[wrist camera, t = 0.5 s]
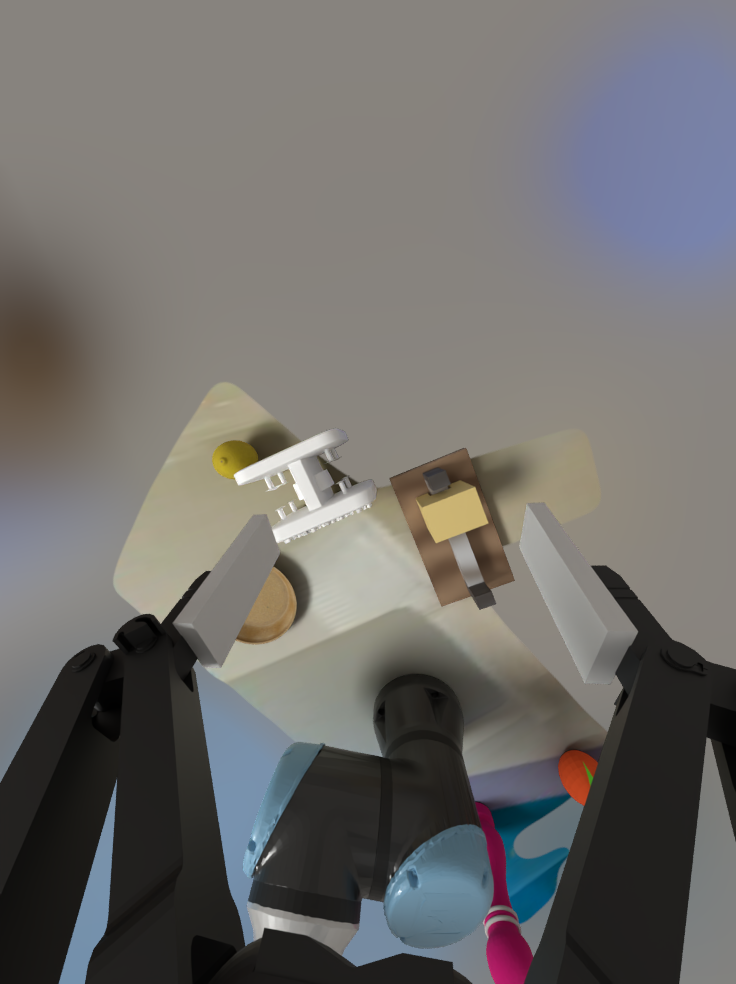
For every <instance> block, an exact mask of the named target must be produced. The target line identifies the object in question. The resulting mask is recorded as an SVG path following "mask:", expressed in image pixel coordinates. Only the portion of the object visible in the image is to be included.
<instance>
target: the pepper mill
mask: <svg viewBox="0 0 736 984" xmlns="http://www.w3.org/2000/svg"><path fill="white" fill-rule="evenodd" d="M475 804H476V808H477V812H478V815H479V819H480V823H481V827H482V830H483V832H484V834H485V837H486V841H487V851H488V856H489V861H490V866H491V870H492V875H493V882H494V893H493V900H492V904H491V907H490V910H489V912H488V914H487V916H486V918H485V919H484V920H483V924H484V926H485V934H486V936H487V937H488V942H487V948H486V955H487V961H488V965H489V969H490V972H491V975H492V977H493V980H494V982H495V984H524V981H525V979H526V976H527V973H528V970H529V967H530V965H531V962H532V960H533V955H532V952H531V950H530V947H529V945H528V943H527V942H526V941H525V939H524V938H523V937H522V936H521V927H520V925H519V923H518V917H517V914H516V913H515V912H514V910H512V907H511V904H510V901H509V896H508V892H507V885H506V857H505V849H504V845H503V841H502V839H501V837H500V835H499V833H498V832H497V831H496V830H495V829H494V821H493V818H492V815H491V812H490V810H489V809H488V807H486V806H485V805H484V804H482V803H478V802H475Z"/></svg>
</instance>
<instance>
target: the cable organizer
mask: <svg viewBox="0 0 736 984" xmlns="http://www.w3.org/2000/svg"><path fill="white" fill-rule="evenodd" d="M347 441H348V438H347V435H346V433H345V431H343V430H340V429H337V428H334V429H330V430H327V431H324V432H322V433H319V434H317V435H315V436H313V437H311V438H308V439H306V440H304V441H302V442H300V443H298V444H295V445H293V446H291V447H289V448H287V449H285V450H282V451H280V452H278V453H276V454H274V455H272V456H269V457H267V458H265V459H263V460H261V461H259V462H256V463H254V464H252V465H250V466H248V467H246V468H243V469H242V470H240V471H238V472H237V473H235V474H234V477H235V479H236V481H237V483H238V485H244V484H248V483H251V482H255V481H258V480H262V479H265V481H266V483H267V485H268V487H269V490H267V491H271V490H276V489H277V488H278V487H280V486H281V485H285V484H286V483H288V482H287V481H286V479H285V477H284V475H283V473H282V472H283V471H285V470H288V469H290V471H291V474H292V476H293V478H294V480H295V482H296V484H294V485H293V487H294V489H295V491H296V493H297V495H298V497H299V499H300V500H302V499H304V501H305V503H306V505H307V506H305V507H303V508H300V509H298V510H297V508H296V506H295V504H294V502H293V501H295V500H296V499H294V500H291V501H290V502H288V503H289V504H290V506H291V508H292V510H293V512H292V513H290V514H288V515H287V516H286V515H285V513H284V511H283V509H282V508H284V507H285V506H283V507H280V508H278V509H277V510H275V511H278V513H279V515H280V517H281V520H280V521H279V522H277V523H276V524H275V525H273V526H272V527H271V528H272V531H273V534H274V536H275V539H276V542H277V543H279V542H282V541H284V542H285V544H286V543H289V542H291V541H290V540H291V539H293V540H294V539H296V538H297V537H301V536H304V535H307V534H308V533H310V532H314V531H316V530H317V527H318V529H319V528H321V525H322V526H323V527H325V526H326V525H329V524H331V522H332V523H334V522H336V520H337V521H339V520H340V519H344V516H345V517H348V516H349V515H353V514H354V513H353V511H355V510H356V511H357V513H359V512H361V511H362V509H361V508H363V510H364V509H366V505H367V508H369V507H371V506H372V503H371V502H373V501H374V500H375V499H376V492H377V488H376V486H375V484H374V481H373V480H372V479H370V480H366V481H363V482H360V483H358V484H356V485H353V486H352V485H351V483H350V481H349V479H348V477H349V476H346V477H344V478H342V479H341V480H342V481H339V482H338V483H336V484H339V486H340V488H341V490H342V491H339V492H337V493H335V494H334V493H333V491H332V489H331V486H332V485H333V484H334V481H333V480H332V478H331V476H330V474H329V472H328V470H327V469H326V470H324V471H323V469H322V467H321V465H320V463H319V460H318V458H317V456H318V455H321V454H323V453H325V455H326V457H327V459H328V461H329V462H332V461H334V460H337V459H339V457H338V455H337V453H336V450H335V448H336V447H338V446H340V445H342V444H344V443H345V442H347ZM329 450H331V452H332V455H333V457H334V459H333V457H332V455H331V453H330V451H329ZM329 462H327V463H329ZM324 464H325V463H324ZM276 474H278V476H279V478H280V480H281V482H282V484H281V485H278V486H276V487H274V485H273V483H272V481H271V479H270V477H271V476H274V475H276ZM343 479H344V480H343ZM343 481H345V483H346V486H347V488H346V486H345V484H344V482H343ZM286 506H287V505H286Z"/></svg>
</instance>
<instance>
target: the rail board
mask: <svg viewBox="0 0 736 984" xmlns="http://www.w3.org/2000/svg"><path fill="white" fill-rule="evenodd" d="M459 480H461V481H463V482H465V483H467V484H470V485H472V486H474V487H475V488H476V491H477V494H478V496H479V499H480V502H481V504H482V507H483V510H484V512H485V515H486V518H487V521H488V524H486V525H483V526H480V527H478V528H475V529H472V530H470V531H467V532H465V533H462V534H459V535H457V536H454V537H451V538H449V539H446V540H443V541H441V542H438V543H435V541H434V539H433V537H432V535H431V534H430V532H429V530H428V528H427V526H426V523H425V521H424V518H423V516H422V513H421V511H420V508H419V506H418V503H417V501H416V498H417V497H419V496H422V495H424V494H427V493H428V494H429V495H430V496H432V495H434V494H437V493H439V492H442V491H444V490H447V489H449V487H448V485H451V484H452V483H454V482H457V481H459ZM390 481H391V484H392V486H393V489H394V491H395V494H396V496H397V498H398V501H399V503H400V506H401V508H402V511H403V513H404V516H405V518H406V521H407V523H408V525H409V528H410V530H411V533H412V535H413V538H414V540H415V543H416V545H417V548H418V550H419V552H420V555H421V557H422V560H423V562H424V565H425V567H426V570H427V572H428V575H429V577H430V579H431V582H432V584H433V587H434V589H435V592H436V594H437V597H438V599H439V602H440V604H441V606H445V605H447V604H450V603H453V602H456V601H459V600H462V599H464V598H467V597H470V596H472V598H473V600H474V601H475V603H476V605H477V606H478V608H479V610H481V609H483V608H486V607H489V606H492V605H495V604H496V602H495V600H494V597H493V594H492V591H491V590H490V589H492V588H495V587H498V586H501V585H504V584H507V583H509V582H512V581H515V580H514V577H513V574H512V572H511V569H510V566H509V563H508V561H507V558H506V556H505V553H504V550H503V547H502V544H501V542H500V539H499V536H498V533H497V531H496V528H495V525H494V523H493V520H492V517H491V514H490V512H489V509H488V506H487V503H486V501H485V498H484V495H483V493H482V490H481V487H480V484H479V482H478V479H477V476H476V473H475V471H474V468H473V465H472V463H471V460H470V457H469V454H468V452H467V449H466V448H463V449H460V450H458V451H455V452H453V453H450V454H448V455H445V456H443V457H440V458H438V459H436V460H433V461H431V462H428V463H426V464H423V465H421V466H418V467H416V468H413V469H411V470H408V471H406V472H404V473H401V474H399V475H396V476H394V477H391V478H390Z"/></svg>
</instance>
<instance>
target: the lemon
mask: <svg viewBox="0 0 736 984" xmlns="http://www.w3.org/2000/svg"><path fill="white" fill-rule="evenodd" d="M212 462H213V466H214V468H215V470H216V471H217V472H218V473H219V474H220V475H222V476H224V477H226V478H229V479H235V477H234V474H235V473H237V472H238V471H240V470H242V469H243V468H246V467H248V466H250V465H252V464H254V463H256V462H258V455H257V452H256V451H255V449H254V448H253V447H252V446H251V445H249V444H247V443H245V442H242V441H228V442H225V443H223V444H221V445H220V446H218V447H217V448H216V450H215V451H214V453H213V457H212Z"/></svg>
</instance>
